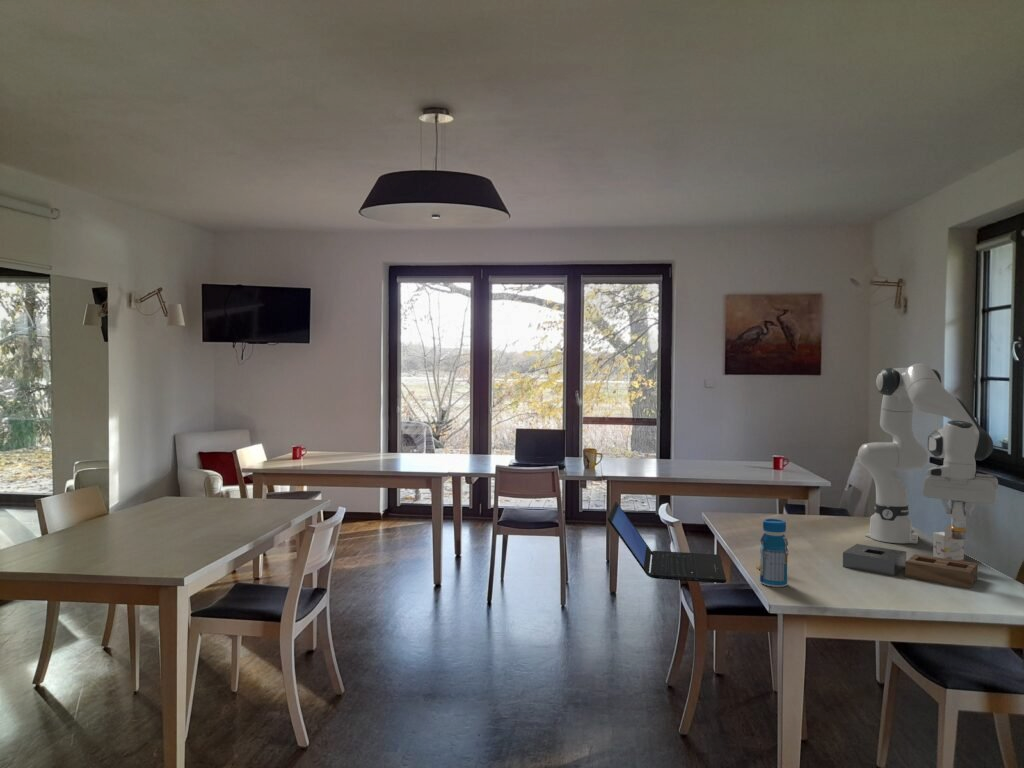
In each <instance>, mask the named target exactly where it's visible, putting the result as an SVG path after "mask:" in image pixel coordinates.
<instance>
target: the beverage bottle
mask: <svg viewBox="0 0 1024 768" xmlns="http://www.w3.org/2000/svg"><path fill="white" fill-rule="evenodd" d="M762 529H763V532H764V533H763V534H762V536H761V538H760V544H761V545H760V547H759V554H760V559H761V570H759V571H760V575H759V582H760V584H762V585H763V584H764V585H763V586H766V585H767V587H770V586H772V587H771V588H784V587H786V586H787V585H788V557H789V556H788V555H789V549H788V545H789V541H788V538H787V537H786V535H785V533H786V531H787V530H786V529H787V523H786V521H785V520H783V519H779V518H765V519H763V521H762Z"/></svg>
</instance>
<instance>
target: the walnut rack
mask: <svg viewBox="0 0 1024 768" xmlns="http://www.w3.org/2000/svg"><path fill="white" fill-rule="evenodd" d="M978 565H979V564H978V563H977V562H971V561H965V560H964V561H959V560H952V559H946V558H940V557H933V556H932V555H925V554H920V553H914V554H913V555H912V556H911V557H909V558H908V559H906V562H905V567H904V570H905V571H904V578H907V579H908V578H910V579H916V580H920V581H926V582H931V583H937V584H942V585H948V586H954V587H958V588H959V587H960V588H963V589H965V588H966V589H971V587H973V585H974V584H975V582H976V581H977V580H978V576H979V575H978V569H979V568H978V567H979V566H978Z"/></svg>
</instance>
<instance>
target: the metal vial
mask: <svg viewBox="0 0 1024 768" xmlns="http://www.w3.org/2000/svg"><path fill="white" fill-rule="evenodd" d="M950 502H951V503H950V505H951V506H950V508H951V514H950V526H951V527H950V530H951V538H953V539H958V540H964V541H965V540H966V533H967V527H966V526H967V524H966V521H967V519H966V518H967V516H965V514H966V513H965V510H967V502H964V501H955V500H950Z"/></svg>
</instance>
